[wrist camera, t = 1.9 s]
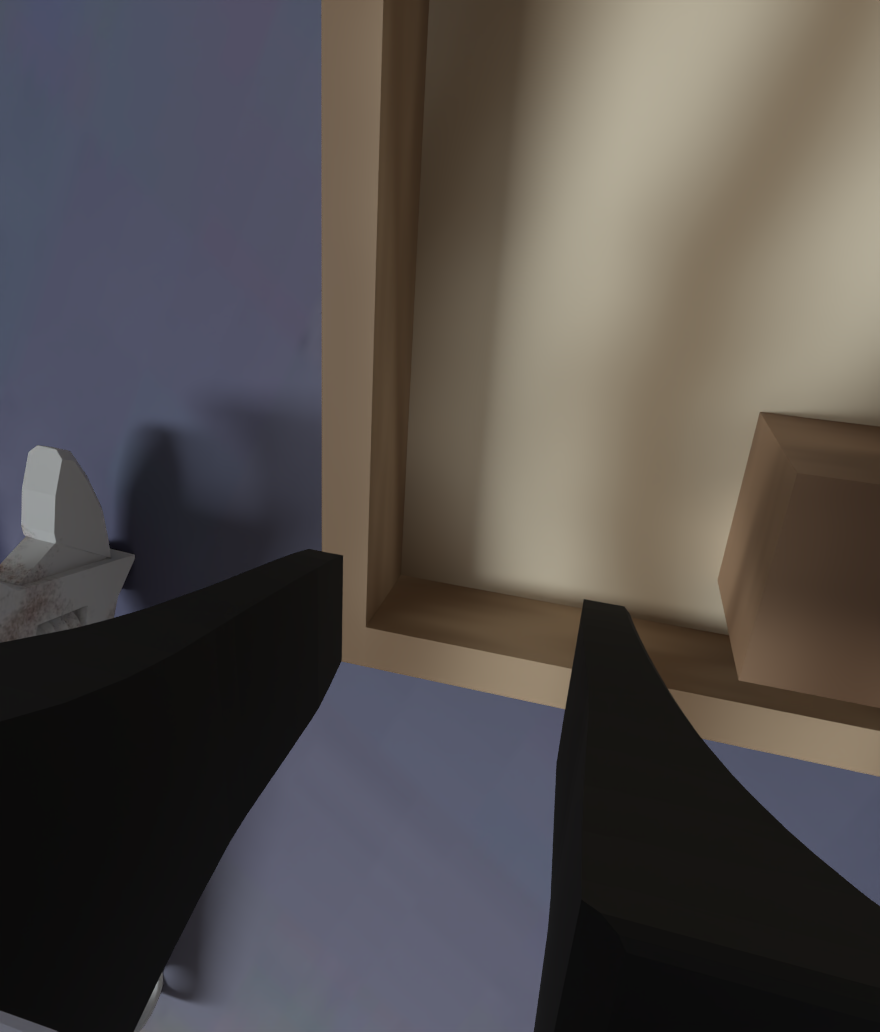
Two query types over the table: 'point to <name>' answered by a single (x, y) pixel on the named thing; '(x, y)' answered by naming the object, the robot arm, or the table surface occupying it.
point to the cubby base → (587, 325)
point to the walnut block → (807, 560)
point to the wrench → (61, 565)
